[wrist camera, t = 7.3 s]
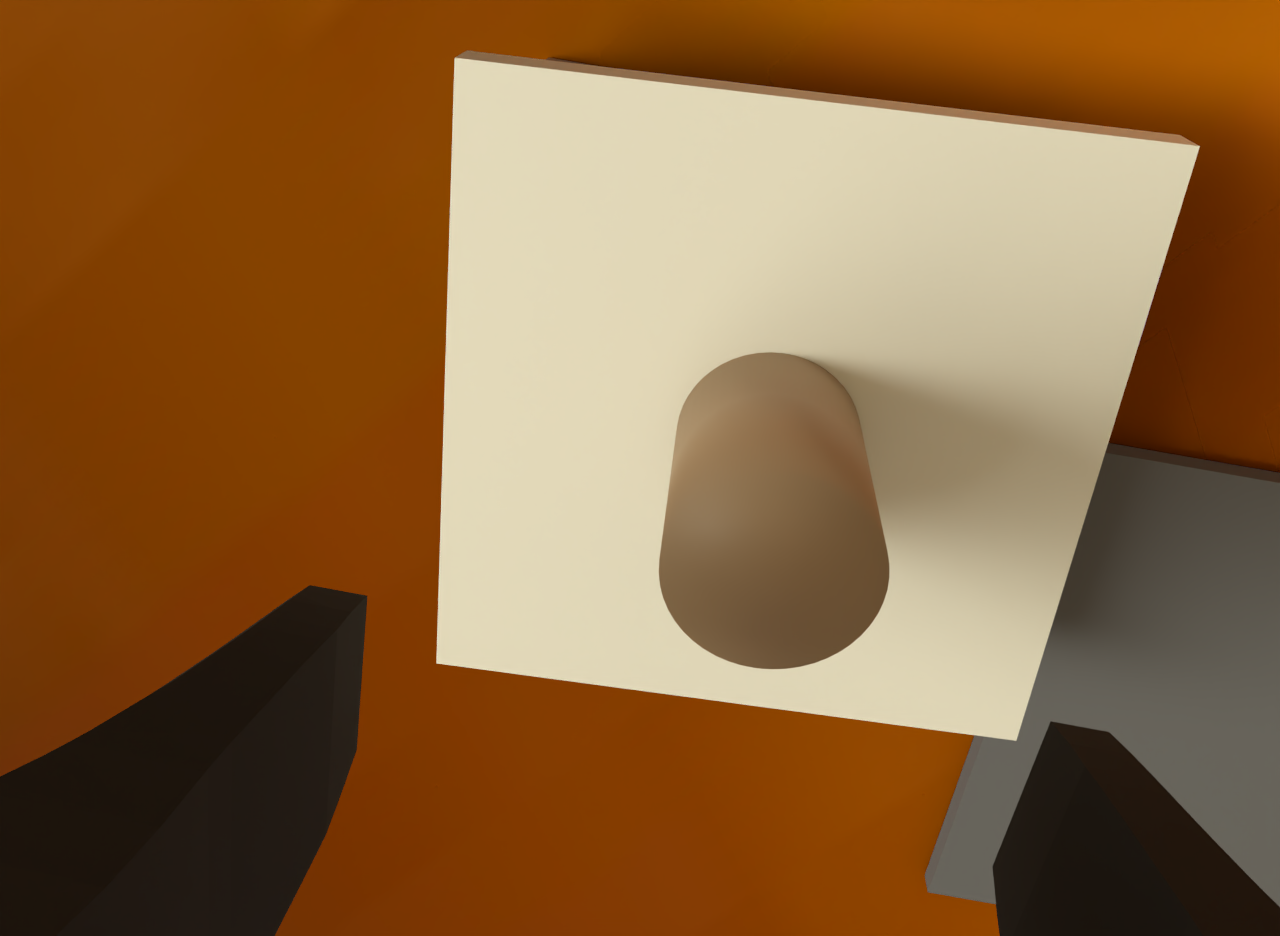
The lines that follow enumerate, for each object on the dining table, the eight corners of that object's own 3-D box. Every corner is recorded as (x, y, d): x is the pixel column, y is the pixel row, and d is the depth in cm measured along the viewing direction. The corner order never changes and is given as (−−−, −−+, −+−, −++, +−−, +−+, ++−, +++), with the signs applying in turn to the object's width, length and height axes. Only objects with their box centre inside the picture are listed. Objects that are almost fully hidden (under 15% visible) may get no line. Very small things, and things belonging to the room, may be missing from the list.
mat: (1408, 960, 26) (1419, 978, 26) (924, 874, 26) (927, 892, 26) (1674, 541, 22) (1693, 555, 21) (1080, 438, 22) (1087, 449, 21)
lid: (1006, 711, 21) (1075, 925, 16) (446, 637, 21) (369, 828, 17) (1180, 135, 16) (1335, 221, 12) (467, 50, 17) (368, 105, 12)
